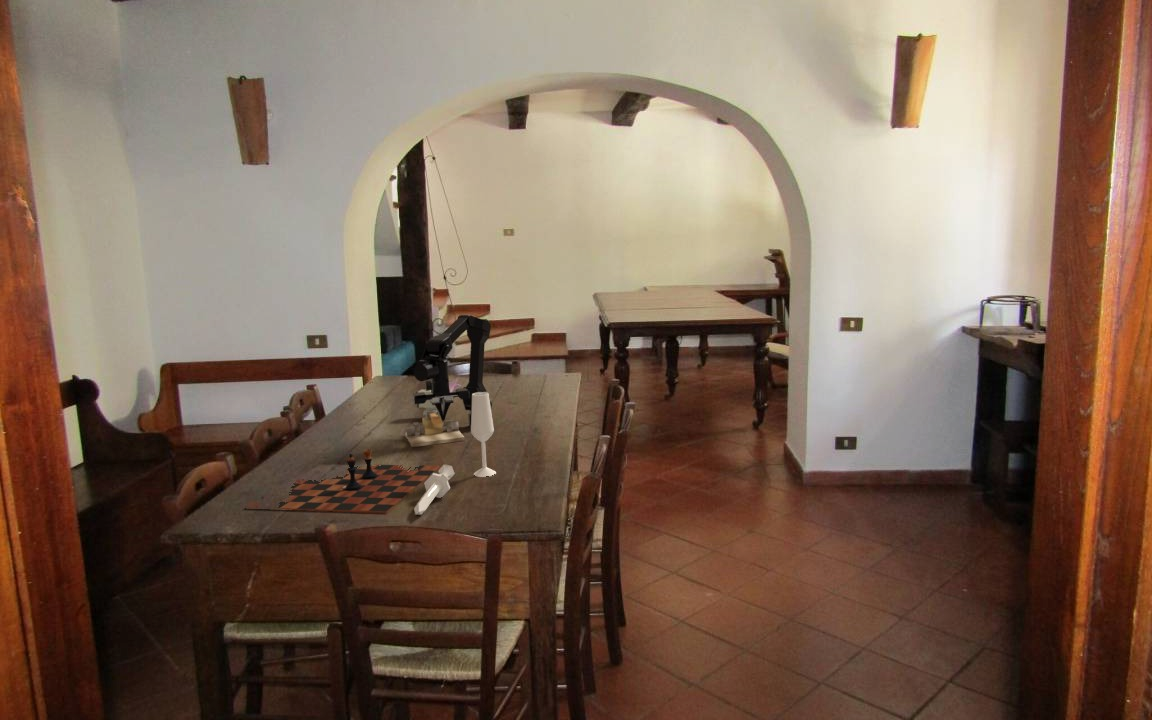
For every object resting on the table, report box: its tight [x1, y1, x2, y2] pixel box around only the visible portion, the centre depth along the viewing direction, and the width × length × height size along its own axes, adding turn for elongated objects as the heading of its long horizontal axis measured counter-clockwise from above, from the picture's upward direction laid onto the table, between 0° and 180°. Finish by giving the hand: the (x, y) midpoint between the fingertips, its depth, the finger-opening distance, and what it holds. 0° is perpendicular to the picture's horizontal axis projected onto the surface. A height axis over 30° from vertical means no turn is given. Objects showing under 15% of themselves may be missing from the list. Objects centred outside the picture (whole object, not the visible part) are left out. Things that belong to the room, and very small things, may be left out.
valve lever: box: [427, 410, 441, 425], centre depth 263 cm, size 3×14×2 cm, turn 20°
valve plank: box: [404, 415, 466, 448], centre depth 266 cm, size 18×16×7 cm
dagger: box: [413, 463, 456, 516], centre depth 203 cm, size 8×6×28 cm
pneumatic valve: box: [415, 388, 444, 418], centre depth 296 cm, size 6×12×12 cm, turn 82°
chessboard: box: [247, 448, 441, 515], centre depth 218 cm, size 40×40×11 cm
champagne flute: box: [470, 391, 497, 478], centre depth 223 cm, size 7×7×24 cm
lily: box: [449, 378, 462, 400], centre depth 328 cm, size 12×12×10 cm
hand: (443, 420), depth 261 cm, fingers closed
